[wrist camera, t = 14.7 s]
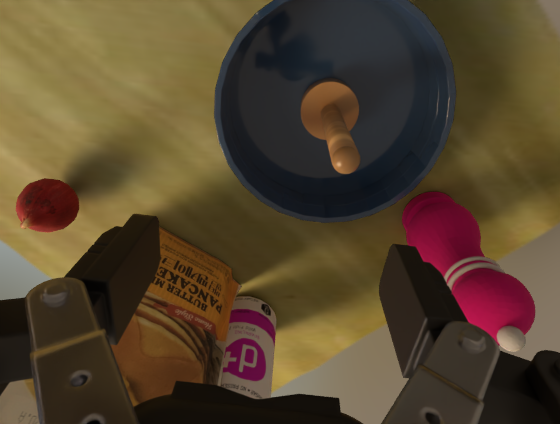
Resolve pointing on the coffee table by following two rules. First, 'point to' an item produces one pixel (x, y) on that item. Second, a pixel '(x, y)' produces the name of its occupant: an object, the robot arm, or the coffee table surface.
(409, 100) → the bowl
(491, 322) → the pepper mill
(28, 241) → the coffee table surface
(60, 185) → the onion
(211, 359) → the pancake mix bag
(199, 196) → the coffee table surface
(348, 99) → the wooden disc peg
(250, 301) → the supplement can
